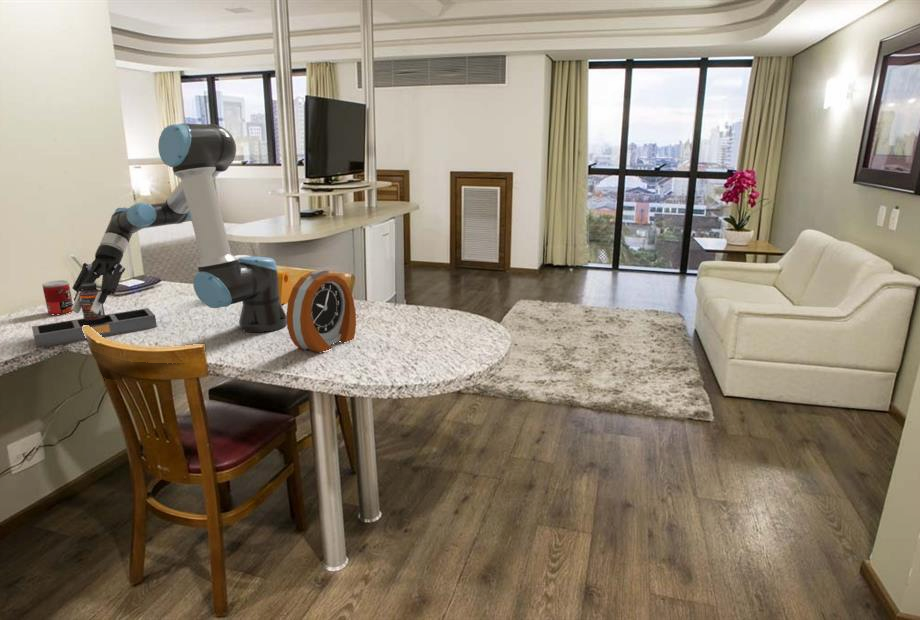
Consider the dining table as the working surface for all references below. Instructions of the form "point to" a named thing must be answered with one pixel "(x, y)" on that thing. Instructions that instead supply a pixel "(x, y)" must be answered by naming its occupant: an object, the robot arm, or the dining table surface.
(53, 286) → the canned food
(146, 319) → the compartment tray
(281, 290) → the yellow cheese block
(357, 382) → the dining table surface
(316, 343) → the alarm clock
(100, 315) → the supplement bottle
